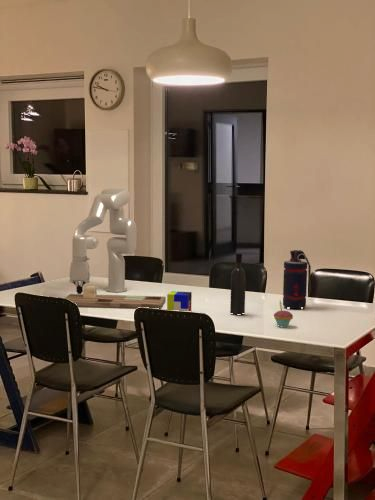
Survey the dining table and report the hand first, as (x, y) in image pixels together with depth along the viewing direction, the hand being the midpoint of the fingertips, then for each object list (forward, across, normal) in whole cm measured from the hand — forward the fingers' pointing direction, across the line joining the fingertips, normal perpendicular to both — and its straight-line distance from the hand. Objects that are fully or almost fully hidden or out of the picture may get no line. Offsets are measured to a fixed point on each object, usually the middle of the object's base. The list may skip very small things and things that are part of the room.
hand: (79, 293), depth 359 cm
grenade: (+4, -115, +2) cm, 115 cm away
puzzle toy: (+4, -56, +26) cm, 62 cm away
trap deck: (+4, -20, +6) cm, 21 cm away
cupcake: (+4, -105, +48) cm, 116 cm away
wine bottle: (+4, -84, +24) cm, 88 cm away
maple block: (+1, -6, 0) cm, 6 cm away
